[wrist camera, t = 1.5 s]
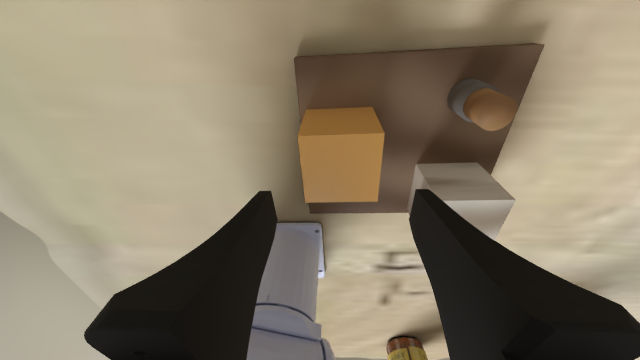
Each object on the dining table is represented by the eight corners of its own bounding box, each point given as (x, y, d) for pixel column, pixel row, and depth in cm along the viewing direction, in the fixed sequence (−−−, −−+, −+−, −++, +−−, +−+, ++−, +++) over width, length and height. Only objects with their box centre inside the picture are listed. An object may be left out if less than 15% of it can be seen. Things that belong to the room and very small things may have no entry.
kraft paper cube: (368, 165, 20) (377, 201, 16) (310, 166, 21) (305, 202, 17) (372, 106, 18) (384, 133, 13) (305, 109, 18) (297, 136, 14)
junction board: (470, 205, 23) (507, 254, 18) (310, 207, 25) (305, 253, 20) (533, 43, 16) (626, 53, 11) (295, 56, 17) (280, 71, 12)
